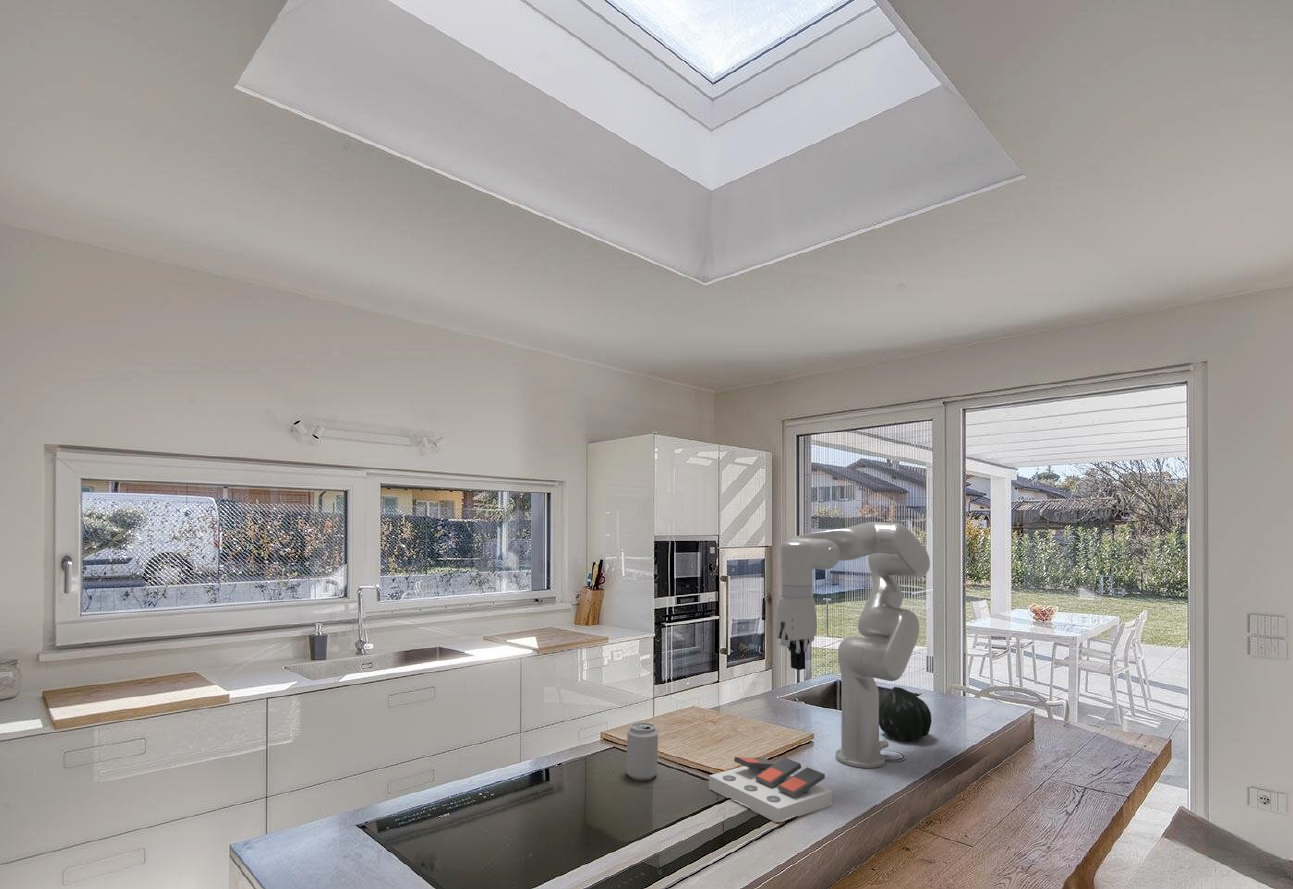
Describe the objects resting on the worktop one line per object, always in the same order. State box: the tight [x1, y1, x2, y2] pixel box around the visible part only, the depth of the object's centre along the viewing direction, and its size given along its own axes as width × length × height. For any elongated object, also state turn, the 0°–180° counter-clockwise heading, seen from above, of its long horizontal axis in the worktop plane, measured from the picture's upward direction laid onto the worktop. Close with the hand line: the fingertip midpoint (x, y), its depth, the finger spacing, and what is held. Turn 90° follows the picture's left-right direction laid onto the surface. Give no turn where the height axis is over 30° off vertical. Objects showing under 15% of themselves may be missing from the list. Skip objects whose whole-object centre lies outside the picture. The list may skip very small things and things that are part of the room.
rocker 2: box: [777, 766, 826, 797], centre depth 164 cm, size 10×5×1 cm, turn 126°
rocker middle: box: [755, 757, 802, 788], centre depth 169 cm, size 10×5×1 cm, turn 126°
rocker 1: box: [733, 756, 776, 768], centre depth 175 cm, size 10×5×1 cm, turn 126°
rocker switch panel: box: [708, 765, 833, 822], centre depth 167 cm, size 17×22×4 cm
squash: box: [879, 686, 932, 742], centre depth 213 cm, size 14×15×15 cm
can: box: [625, 721, 659, 781], centre depth 178 cm, size 8×8×12 cm
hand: (798, 668), depth 177 cm, fingers closed
